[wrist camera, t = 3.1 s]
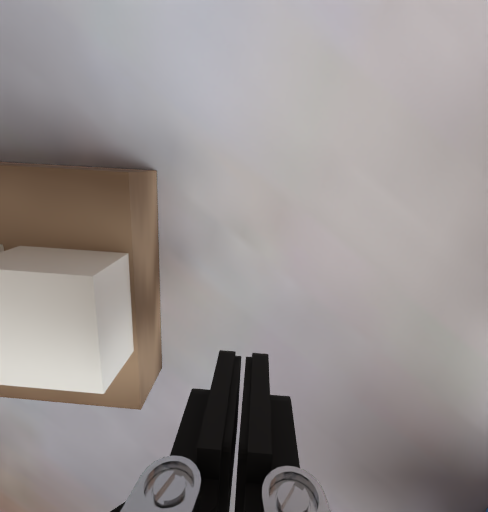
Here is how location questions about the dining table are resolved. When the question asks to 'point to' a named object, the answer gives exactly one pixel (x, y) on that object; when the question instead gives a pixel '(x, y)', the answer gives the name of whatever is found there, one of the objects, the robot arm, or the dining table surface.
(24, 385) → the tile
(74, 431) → the dining table surface
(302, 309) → the dining table surface
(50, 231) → the board
